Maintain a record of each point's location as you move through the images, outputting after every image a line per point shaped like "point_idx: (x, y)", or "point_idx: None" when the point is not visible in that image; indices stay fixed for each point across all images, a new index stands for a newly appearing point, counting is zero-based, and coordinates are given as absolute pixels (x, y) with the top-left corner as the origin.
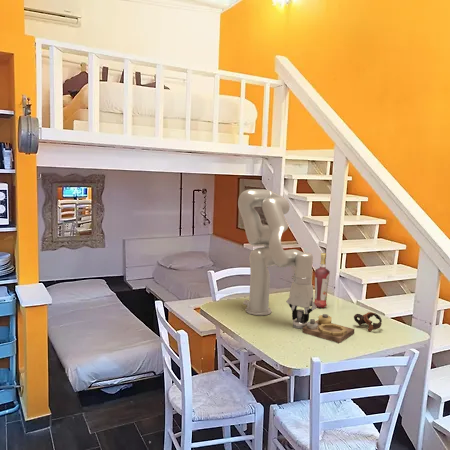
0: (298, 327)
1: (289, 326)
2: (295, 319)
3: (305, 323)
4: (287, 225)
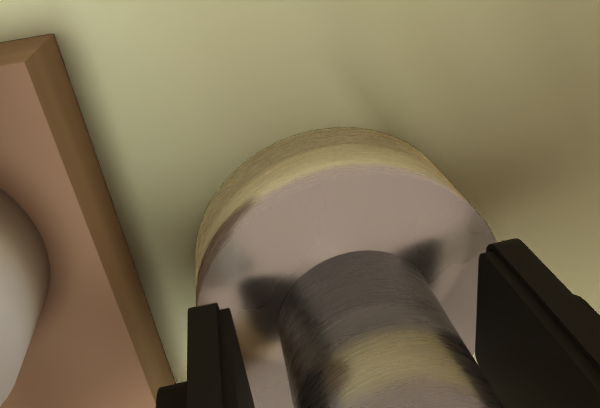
0: (274, 157)
1: (463, 95)
2: None
3: None
4: None
